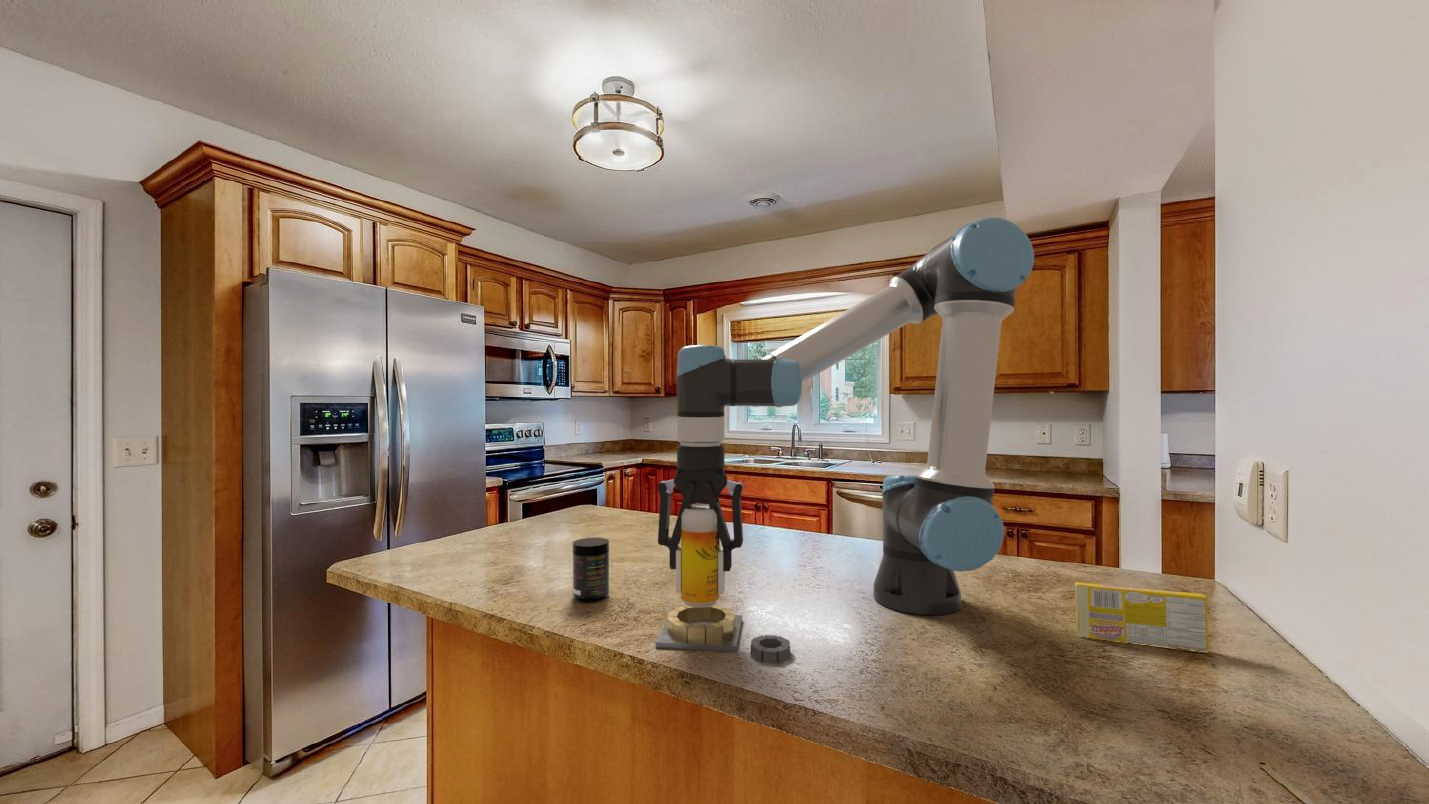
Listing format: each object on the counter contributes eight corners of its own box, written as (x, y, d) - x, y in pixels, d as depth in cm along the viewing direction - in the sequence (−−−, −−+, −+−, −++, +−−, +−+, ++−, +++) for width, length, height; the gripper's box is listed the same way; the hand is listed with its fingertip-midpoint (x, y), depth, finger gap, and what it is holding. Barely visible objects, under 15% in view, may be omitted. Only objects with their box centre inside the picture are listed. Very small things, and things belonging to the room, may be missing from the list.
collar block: (742, 620, 94) (742, 603, 94) (736, 651, 82) (735, 632, 82) (671, 617, 96) (671, 600, 96) (655, 647, 84) (655, 628, 84)
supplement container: (617, 596, 106) (616, 540, 106) (588, 606, 101) (588, 548, 101) (593, 589, 110) (593, 535, 110) (565, 598, 105) (564, 542, 105)
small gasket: (789, 646, 84) (789, 636, 84) (790, 663, 79) (790, 652, 79) (752, 644, 85) (752, 634, 85) (749, 661, 79) (749, 650, 79)
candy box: (1203, 649, 83) (1203, 593, 83) (1209, 655, 81) (1209, 597, 81) (1074, 633, 89) (1074, 580, 89) (1077, 638, 87) (1077, 584, 87)
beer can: (715, 610, 85) (715, 511, 85) (676, 607, 87) (676, 509, 87) (722, 596, 91) (722, 504, 91) (686, 594, 93) (686, 502, 93)
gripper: (761, 442, 92) (761, 585, 92) (647, 441, 94) (647, 580, 94) (759, 446, 84) (759, 601, 84) (636, 445, 86) (635, 595, 86)
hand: (700, 590), depth 89 cm, fingers closed on beer can, 6 cm apart
